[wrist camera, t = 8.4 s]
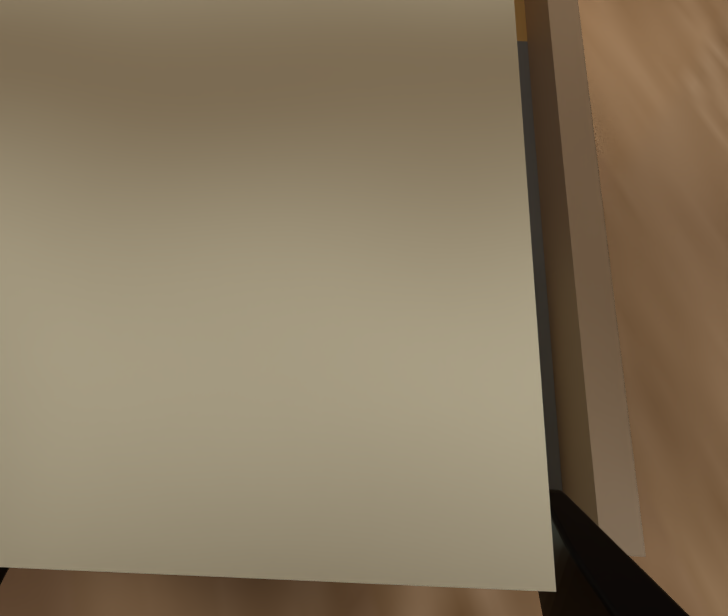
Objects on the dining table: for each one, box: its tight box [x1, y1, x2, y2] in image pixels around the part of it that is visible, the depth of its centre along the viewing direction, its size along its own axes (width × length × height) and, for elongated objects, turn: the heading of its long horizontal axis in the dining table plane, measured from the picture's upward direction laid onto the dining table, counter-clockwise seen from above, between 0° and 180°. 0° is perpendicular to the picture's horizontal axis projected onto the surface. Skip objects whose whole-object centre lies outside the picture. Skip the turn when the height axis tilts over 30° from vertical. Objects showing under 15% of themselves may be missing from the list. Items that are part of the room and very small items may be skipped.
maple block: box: [0, 0, 556, 592], centre depth 9 cm, size 6×6×10 cm
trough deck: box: [514, 0, 646, 557], centre depth 17 cm, size 27×16×4 cm, turn 178°
